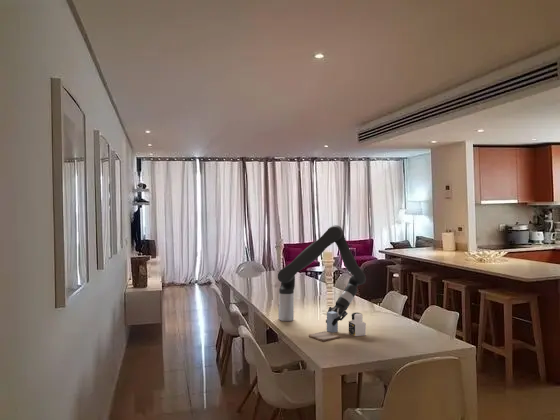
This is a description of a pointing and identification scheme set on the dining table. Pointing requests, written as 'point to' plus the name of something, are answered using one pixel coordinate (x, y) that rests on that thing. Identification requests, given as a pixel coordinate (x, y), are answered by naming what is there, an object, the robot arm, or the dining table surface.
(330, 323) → the block
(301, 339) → the dining table surface
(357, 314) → the medicine bottle
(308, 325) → the dining table surface
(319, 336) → the board
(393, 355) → the dining table surface
